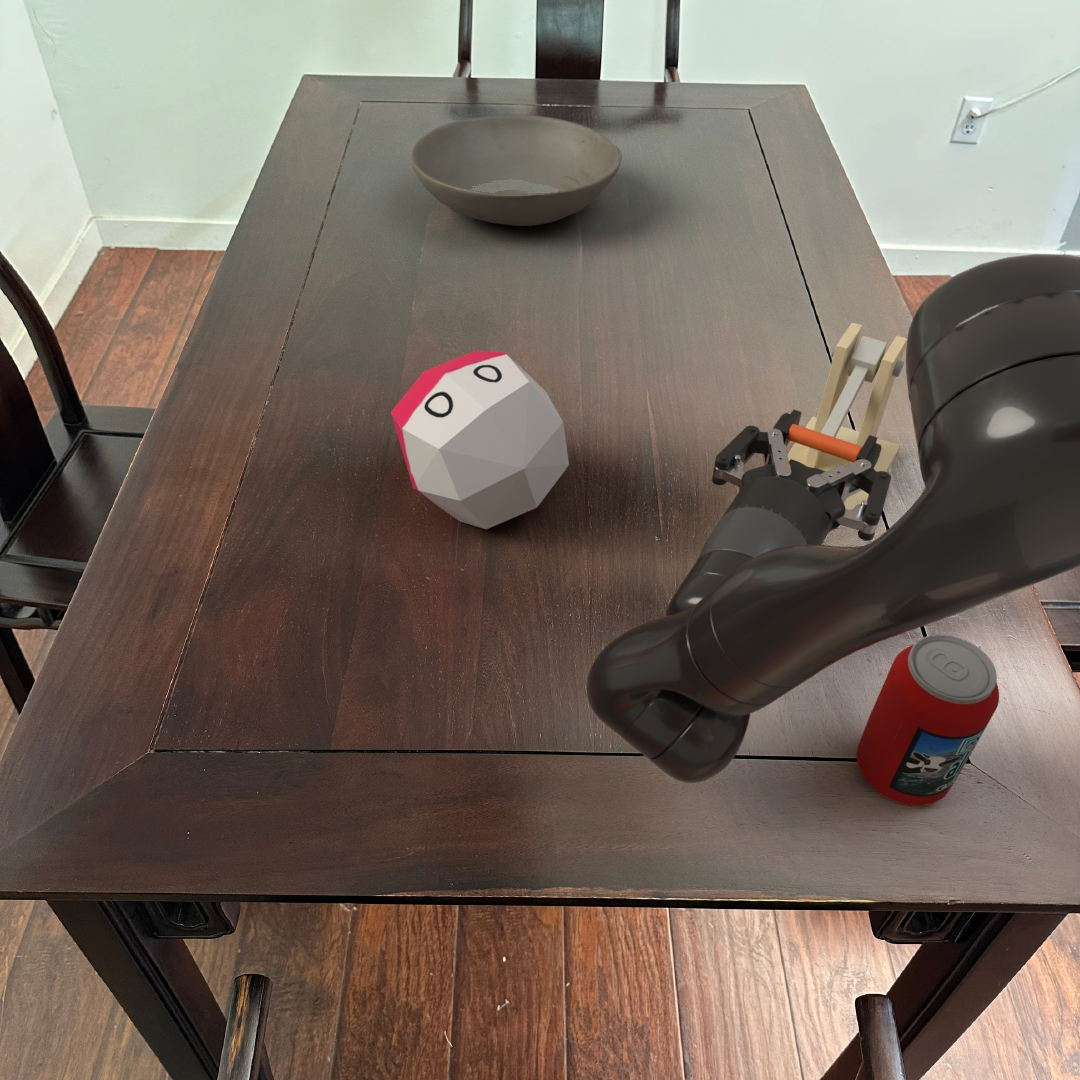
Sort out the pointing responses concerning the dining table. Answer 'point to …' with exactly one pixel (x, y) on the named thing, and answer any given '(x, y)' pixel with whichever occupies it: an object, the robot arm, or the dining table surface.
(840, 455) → the lever
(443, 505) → the decorative object
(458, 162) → the bowl
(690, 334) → the dining table surface
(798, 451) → the bracket
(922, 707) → the beverage can
